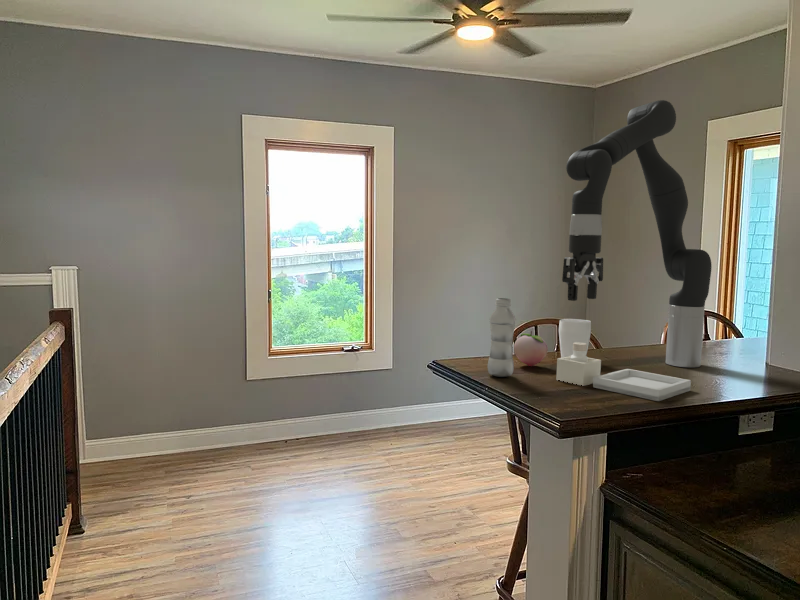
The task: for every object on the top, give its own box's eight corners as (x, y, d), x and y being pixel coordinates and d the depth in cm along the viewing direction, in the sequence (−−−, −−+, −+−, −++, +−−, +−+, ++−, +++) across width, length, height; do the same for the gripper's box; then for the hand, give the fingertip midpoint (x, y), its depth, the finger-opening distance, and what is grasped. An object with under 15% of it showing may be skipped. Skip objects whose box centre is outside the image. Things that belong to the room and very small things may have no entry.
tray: (626, 378, 154) (627, 368, 154) (690, 390, 142) (690, 380, 142) (593, 387, 144) (593, 376, 143) (658, 401, 132) (659, 390, 131)
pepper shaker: (570, 378, 153) (572, 341, 152) (586, 380, 151) (588, 342, 150) (569, 381, 149) (570, 344, 148) (585, 383, 148) (587, 345, 147)
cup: (591, 365, 170) (593, 323, 169) (558, 363, 172) (560, 321, 170) (587, 359, 179) (589, 319, 177) (556, 357, 180) (558, 318, 179)
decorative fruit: (506, 365, 168) (507, 330, 167) (526, 362, 172) (527, 327, 171) (532, 371, 160) (533, 334, 159) (552, 368, 165) (553, 332, 164)
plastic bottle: (491, 372, 158) (494, 297, 156) (516, 375, 155) (519, 298, 153) (483, 377, 152) (486, 298, 150) (509, 380, 149) (512, 300, 147)
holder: (573, 376, 155) (574, 355, 155) (599, 381, 150) (601, 359, 149) (556, 380, 150) (557, 358, 150) (583, 385, 145) (584, 363, 144)
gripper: (587, 234, 154) (584, 297, 156) (555, 232, 145) (552, 299, 146) (614, 234, 148) (611, 299, 150) (582, 233, 139) (579, 302, 141)
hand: (582, 299), depth 148 cm, fingers open, 8 cm apart
